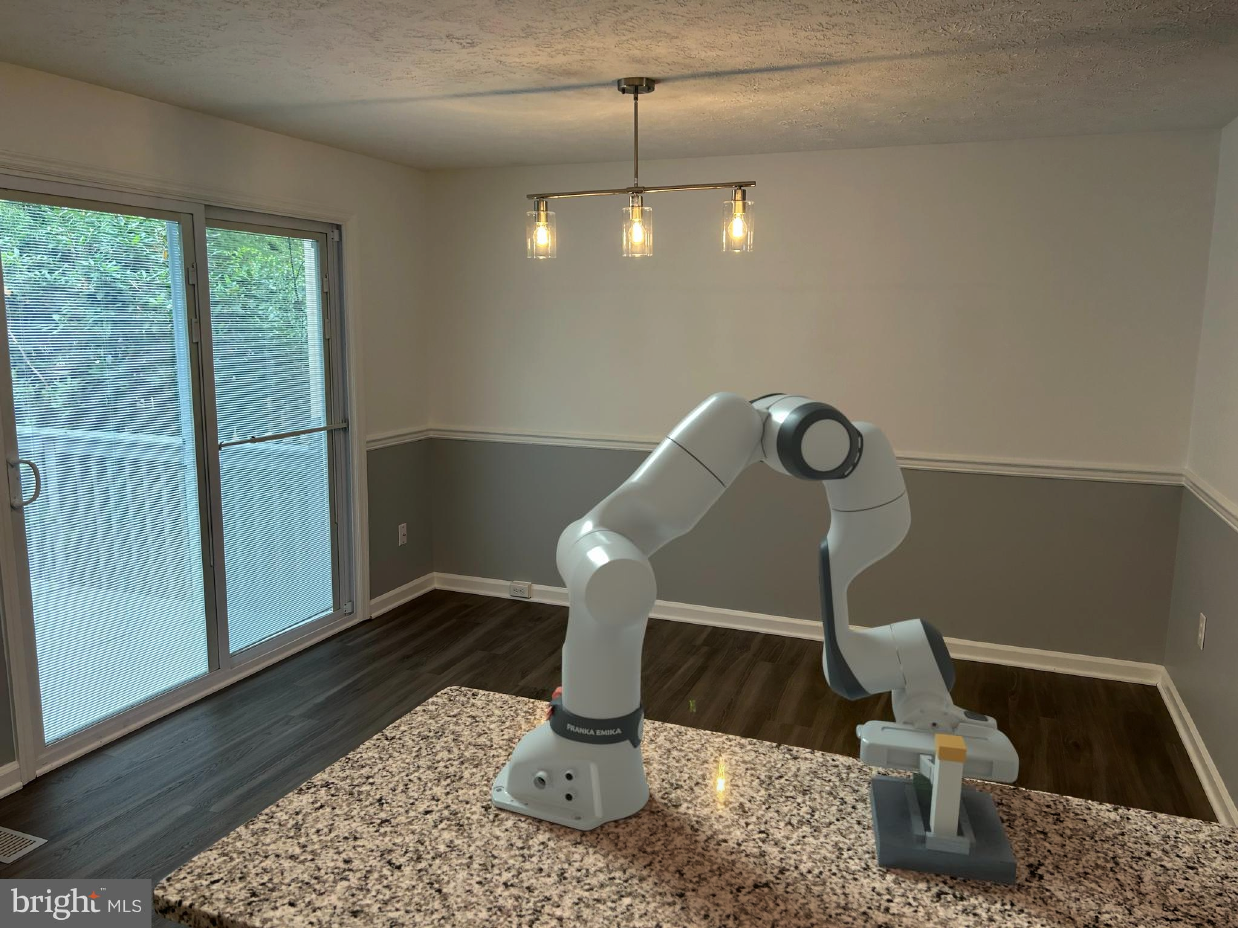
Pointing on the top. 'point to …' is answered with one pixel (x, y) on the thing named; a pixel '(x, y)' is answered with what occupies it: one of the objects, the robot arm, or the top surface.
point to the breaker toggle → (947, 783)
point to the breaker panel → (918, 849)
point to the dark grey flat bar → (911, 781)
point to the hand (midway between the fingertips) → (944, 781)
